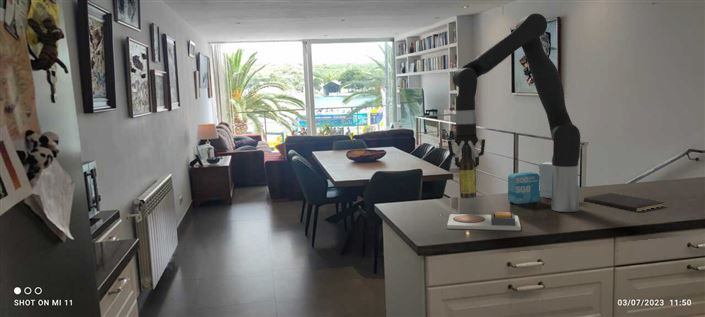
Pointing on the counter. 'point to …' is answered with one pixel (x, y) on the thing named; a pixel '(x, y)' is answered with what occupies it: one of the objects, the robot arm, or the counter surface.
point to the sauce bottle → (467, 174)
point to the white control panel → (483, 222)
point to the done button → (502, 215)
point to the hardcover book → (623, 202)
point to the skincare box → (545, 179)
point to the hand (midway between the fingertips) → (467, 166)
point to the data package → (523, 188)
